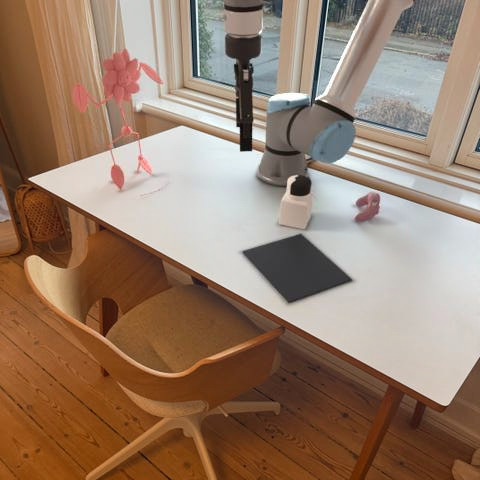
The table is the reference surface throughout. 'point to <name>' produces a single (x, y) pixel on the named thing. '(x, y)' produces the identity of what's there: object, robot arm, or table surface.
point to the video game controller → (368, 206)
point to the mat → (296, 267)
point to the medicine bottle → (297, 202)
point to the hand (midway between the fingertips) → (243, 138)
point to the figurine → (119, 98)
